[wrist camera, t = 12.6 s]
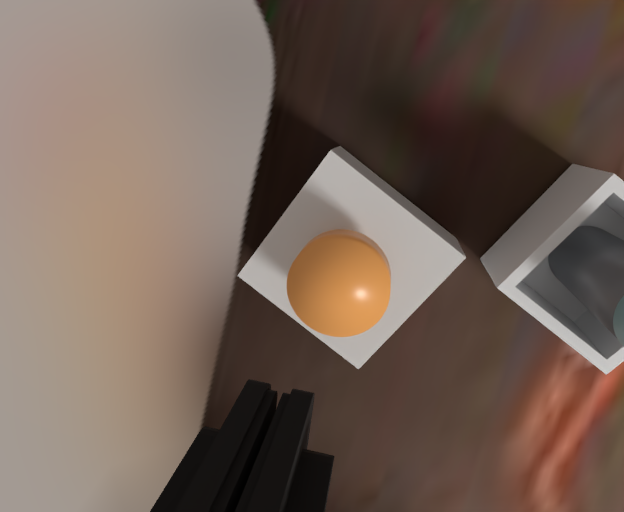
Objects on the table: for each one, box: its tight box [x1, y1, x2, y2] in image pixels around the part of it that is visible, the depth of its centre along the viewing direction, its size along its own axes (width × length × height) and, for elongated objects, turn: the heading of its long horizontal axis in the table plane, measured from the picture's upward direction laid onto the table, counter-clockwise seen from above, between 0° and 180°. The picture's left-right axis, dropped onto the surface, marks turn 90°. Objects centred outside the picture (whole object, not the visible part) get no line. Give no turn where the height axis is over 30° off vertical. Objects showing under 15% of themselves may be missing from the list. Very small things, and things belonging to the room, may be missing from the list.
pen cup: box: [480, 164, 624, 375], centre depth 24 cm, size 7×7×5 cm
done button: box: [287, 229, 391, 337], centre depth 22 cm, size 5×5×2 cm
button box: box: [238, 146, 466, 369], centre depth 26 cm, size 9×9×4 cm
